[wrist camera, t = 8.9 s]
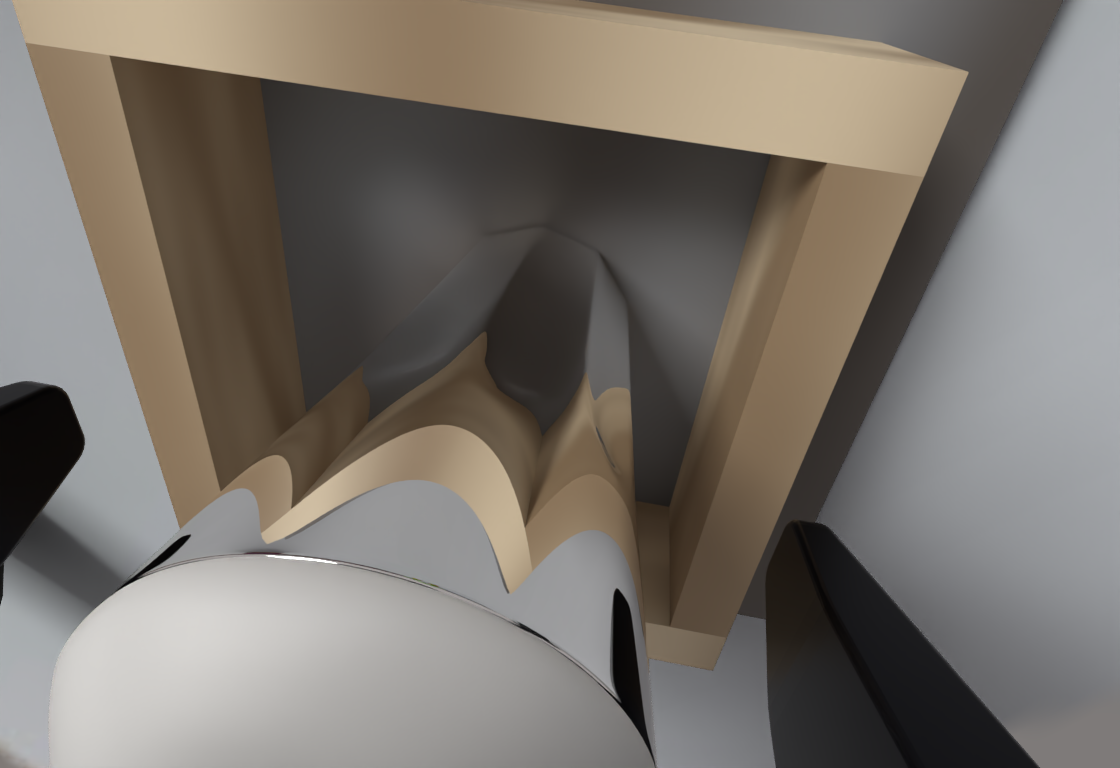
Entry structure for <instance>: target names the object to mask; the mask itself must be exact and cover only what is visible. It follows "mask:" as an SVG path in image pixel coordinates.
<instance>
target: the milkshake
mask: <svg viewBox="0 0 1120 768" xmlns="http://www.w3.org/2000/svg"><path fill="white" fill-rule="evenodd" d="M48 723H49V768H657V754H656V741H655V729H654V717H653V706H652V694H651V682H650V670H649V658H648V646H647V634H646V622H645V610H644V599H643V587H642V575H641V563H640V551H639V539H638V526H637V512H636V496H635V475H634V450H633V427H632V403H631V380H630V357H629V334H628V312H627V302H626V299H625V298H624V296H623V294H622V292H621V291H620V289H619V287H618V285H617V284H616V282H615V280H614V278H613V277H612V275H611V273H610V271H609V270H608V268H607V266H606V264H605V262H604V261H603V259H602V257H601V255H600V254H599V252H598V251H596V250H594V249H592V248H590V247H587V246H585V245H583V244H581V243H579V242H577V241H575V240H572V239H570V238H568V237H566V236H564V235H562V234H560V233H558V232H556V231H553V230H551V229H549V228H547V227H545V226H539V227H533V228H528V229H522V230H516V231H511V232H505V233H499V234H493V235H487V236H485V237H483V238H482V239H481V240H480V241H479V242H478V243H477V244H476V245H475V246H474V247H473V248H472V249H471V251H470V252H469V253H468V254H467V255H466V256H465V257H464V258H463V259H462V260H461V261H460V262H459V263H458V264H457V265H456V266H455V267H454V268H453V269H452V270H451V271H450V272H449V273H448V274H447V275H446V276H445V277H444V278H443V279H442V281H441V282H440V283H439V284H438V285H437V286H436V287H435V288H434V289H433V290H432V291H431V292H430V293H429V294H428V295H427V296H426V297H425V298H424V299H423V300H422V301H421V302H420V303H419V304H418V305H417V306H416V307H415V308H414V309H413V310H412V311H411V312H410V314H409V315H408V316H407V317H406V318H405V319H404V320H403V321H402V322H401V323H400V324H399V325H398V326H397V327H396V328H395V329H394V330H393V331H392V332H391V333H390V334H389V335H388V336H387V337H386V338H385V339H384V340H383V341H382V342H381V343H380V344H379V345H378V346H377V347H376V348H375V349H374V350H373V351H372V352H371V353H370V354H369V355H368V356H367V357H366V358H365V359H364V360H363V361H362V362H361V363H360V364H359V365H358V366H357V367H356V368H355V369H354V370H353V371H352V372H351V373H350V374H349V375H348V376H347V377H345V378H344V379H343V380H342V381H341V382H340V383H339V384H338V385H337V386H336V387H334V388H333V389H332V390H331V391H330V392H329V393H328V394H327V395H326V396H324V397H323V398H322V399H321V400H320V401H319V402H318V403H317V404H315V405H314V406H313V407H312V408H311V409H310V410H309V411H308V412H306V413H305V414H304V415H303V416H302V417H301V418H300V419H299V420H298V421H297V422H295V423H294V424H293V425H292V426H291V427H290V428H289V429H288V430H287V431H286V432H285V433H283V434H282V435H281V436H280V437H279V438H278V439H277V440H276V441H275V442H274V443H273V444H272V445H270V446H269V447H268V448H267V449H266V450H265V451H264V452H263V453H262V454H261V455H260V456H259V457H257V458H256V459H255V460H254V461H253V462H252V463H251V464H250V465H249V466H248V467H247V468H246V469H245V470H244V471H242V472H241V473H240V474H239V475H238V476H237V477H236V478H235V479H234V480H233V481H232V482H231V483H230V484H228V485H227V486H226V487H225V488H224V489H223V490H222V491H221V492H220V493H219V494H218V495H217V496H216V497H214V498H213V499H212V500H211V501H210V502H209V503H208V504H207V505H206V506H205V507H204V508H203V509H202V510H201V511H199V512H198V513H197V514H196V515H195V516H194V517H193V518H192V519H191V520H190V521H189V522H188V523H187V524H186V525H184V526H183V527H182V528H181V529H180V530H179V531H178V532H177V533H176V534H175V535H174V536H173V537H172V538H171V539H169V540H168V541H167V542H166V543H165V544H164V545H163V546H162V547H161V548H160V549H159V550H158V551H157V552H155V553H154V554H153V555H152V556H151V557H150V558H149V559H148V560H147V561H146V562H145V563H144V564H143V565H142V566H141V567H139V568H138V569H137V570H136V571H135V572H134V573H133V574H132V575H131V576H130V577H129V578H128V579H127V580H126V581H125V582H124V583H123V584H122V585H120V586H119V587H118V588H117V589H116V590H115V592H114V593H113V594H112V595H111V596H110V597H109V598H108V599H106V600H105V601H104V602H102V603H101V604H100V605H99V606H98V607H96V608H95V609H94V610H93V611H92V612H91V613H90V614H89V615H88V616H87V617H86V618H85V619H84V620H83V621H82V622H81V623H80V625H79V626H78V627H77V628H76V630H75V631H74V632H73V633H72V635H71V636H70V637H69V639H68V640H67V642H66V643H65V645H64V647H63V649H62V651H61V652H60V654H59V657H58V659H57V663H56V666H55V669H54V673H53V679H52V685H51V693H50V700H49V721H48Z"/></svg>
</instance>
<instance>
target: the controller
mask: <svg viewBox="0 0 1120 768" xmlns="http://www.w3.org/2000/svg"><path fill="white" fill-rule="evenodd" d="M3 573H4V563H3V564H2V565H1V566H0V604H1V600H2V596H3Z"/></svg>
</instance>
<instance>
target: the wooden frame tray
mask: <svg viewBox="0 0 1120 768" xmlns="http://www.w3.org/2000/svg"><path fill="white" fill-rule="evenodd" d="M12 2H13V5H14V8H15V11H16V14H17V17H18V20H19V24H20V27H21V30H22V33H23V36H24V39H25V42H26V46H27V49H28V52H29V55H30V58H31V61H32V64H33V68H34V71H35V74H36V77H37V80H38V83H39V86H40V90H41V93H42V96H43V99H44V102H45V105H46V109H47V112H48V115H49V118H50V121H51V124H52V127H53V131H54V134H55V137H56V140H57V143H58V146H59V149H60V153H61V156H62V159H63V162H64V165H65V168H66V171H67V175H68V178H69V181H70V184H71V187H72V190H73V193H74V197H75V200H76V203H77V206H78V209H79V212H80V216H81V219H82V222H83V225H84V228H85V231H86V234H87V238H88V241H89V244H90V247H91V250H92V253H93V256H94V260H95V263H96V266H97V269H98V272H99V275H100V278H101V282H102V285H103V288H104V291H105V294H106V297H107V300H108V304H109V307H110V310H111V313H112V316H113V319H114V323H115V326H116V329H117V332H118V335H119V338H120V341H121V345H122V348H123V351H124V354H125V357H126V360H127V363H128V367H129V370H130V373H131V376H132V379H133V382H134V385H135V389H136V392H137V395H138V398H139V401H140V404H141V407H142V411H143V414H144V417H145V420H146V423H147V426H148V430H149V433H150V436H151V439H152V442H153V445H154V448H155V452H156V455H157V458H158V461H159V464H160V467H161V470H162V474H163V477H164V480H165V483H166V486H167V489H168V492H169V496H170V499H171V502H172V505H173V508H174V511H175V514H176V518H177V521H178V524H179V527H180V529H181V528H182V527H183V526H184V525H186V524H187V523H188V522H189V521H190V520H191V519H192V518H193V517H194V516H195V515H196V514H197V513H198V512H199V511H201V510H202V509H203V508H204V507H205V506H206V505H207V504H208V503H209V502H210V501H211V500H212V499H213V498H214V497H216V496H217V495H218V494H219V493H220V492H221V491H222V490H223V489H224V488H225V487H226V486H227V485H228V484H230V483H231V482H232V481H233V480H234V479H235V478H236V477H237V476H238V475H239V474H240V473H241V472H242V471H244V470H245V469H246V468H247V467H248V466H249V465H250V464H251V463H252V462H253V461H254V460H255V459H256V458H257V457H259V456H260V455H261V454H262V453H263V452H264V451H265V450H266V449H267V448H268V447H269V446H270V445H272V444H273V443H274V442H275V441H276V440H277V439H278V438H279V437H280V436H281V435H282V434H283V433H285V432H286V431H287V430H288V429H289V428H290V427H291V426H292V425H293V424H294V423H295V422H297V421H298V420H299V419H300V418H301V417H302V416H303V415H304V414H305V413H306V412H308V411H309V410H310V409H311V408H312V407H313V406H314V405H315V404H317V403H318V402H319V401H320V400H321V399H322V398H323V397H324V396H326V395H327V394H328V393H329V392H330V391H331V390H332V389H333V388H334V387H336V386H337V385H338V384H339V383H340V382H341V381H342V380H343V379H344V378H345V377H347V376H348V375H349V374H350V373H351V372H352V371H353V370H354V369H355V368H356V367H357V366H358V365H359V364H360V363H361V362H362V361H363V360H364V359H365V358H366V357H367V356H368V355H369V354H370V353H371V352H372V351H373V350H374V349H375V348H376V347H377V346H378V345H379V344H380V343H381V342H382V341H383V340H384V339H385V338H386V337H387V336H388V335H389V334H390V333H391V332H392V331H393V330H394V329H395V328H396V327H397V326H398V325H399V324H400V323H401V322H402V321H403V320H404V319H405V318H406V317H407V316H408V315H409V314H410V312H411V311H412V310H413V309H414V308H415V307H416V306H417V305H418V304H419V303H420V302H421V301H422V300H423V299H424V298H425V297H426V296H427V295H428V294H429V293H430V292H431V291H432V290H433V289H434V288H435V287H436V286H437V285H438V284H439V283H440V282H441V281H442V279H443V278H444V277H445V276H446V275H447V274H448V273H449V272H450V271H451V270H452V269H453V268H454V267H455V266H456V265H457V264H458V263H459V262H460V261H461V260H462V259H463V258H464V257H465V256H466V255H467V254H468V253H469V252H470V251H471V249H472V248H473V247H474V246H475V245H476V244H477V243H478V242H479V241H480V240H481V239H482V238H483V237H485V236H487V235H493V234H499V233H505V232H511V231H516V230H522V229H528V228H533V227H539V226H545V227H547V228H549V229H551V230H553V231H556V232H558V233H560V234H562V235H564V236H566V237H568V238H570V239H572V240H575V241H577V242H579V243H581V244H583V245H585V246H587V247H590V248H592V249H594V250H596V251H598V252H599V254H600V255H601V257H602V259H603V261H604V262H605V264H606V266H607V268H608V270H609V271H610V273H611V275H612V277H613V278H614V280H615V282H616V284H617V285H618V287H619V289H620V291H621V292H622V294H623V296H624V298H625V299H626V302H627V312H628V334H629V357H630V380H631V403H632V427H633V450H634V475H635V496H636V512H637V526H638V539H639V551H640V563H641V575H642V587H643V599H644V610H645V622H646V634H647V646H648V658H650V659H655V660H660V661H665V662H670V663H676V664H681V665H686V666H691V667H696V668H701V669H706V670H711V671H713V669H714V667H715V664H716V662H717V660H718V657H719V655H720V653H721V650H722V648H723V646H724V643H725V641H726V639H727V636H728V634H729V632H730V629H731V627H732V625H733V622H734V620H735V618H736V615H737V614H740V615H745V616H751V617H756V618H761V619H766V601H765V579H766V571H767V567H768V564H769V562H770V559H771V557H772V555H773V553H774V550H775V548H776V546H777V544H778V541H779V539H780V537H781V534H782V532H783V530H784V528H785V526H786V525H787V523H788V522H789V521H791V520H795V519H797V520H803V521H808V522H814V523H815V521H816V519H817V517H818V514H819V512H820V510H821V508H822V506H823V504H824V502H825V500H826V498H827V496H828V493H829V491H830V489H831V487H832V485H833V483H834V481H835V479H836V477H837V475H838V472H839V470H840V468H841V466H842V464H843V462H844V460H845V458H846V456H847V454H848V451H849V449H850V447H851V445H852V443H853V441H854V439H855V437H856V435H857V432H858V430H859V428H860V426H861V424H862V422H863V420H864V418H865V416H866V414H867V411H868V409H869V407H870V405H871V403H872V401H873V399H874V397H875V395H876V393H877V390H878V388H879V386H880V384H881V382H882V380H883V378H884V376H885V374H886V372H887V369H888V367H889V365H890V363H891V361H892V359H893V357H894V355H895V353H896V350H897V348H898V346H899V344H900V342H901V340H902V338H903V336H904V334H905V332H906V329H907V327H908V325H909V323H910V321H911V319H912V317H913V315H914V313H915V311H916V308H917V306H918V304H919V302H920V300H921V298H922V296H923V294H924V292H925V290H926V287H927V285H928V283H929V281H930V279H931V277H932V275H933V273H934V271H935V269H936V266H937V264H938V262H939V260H940V258H941V256H942V254H943V252H944V250H945V247H946V245H947V243H948V241H949V239H950V237H951V235H952V233H953V231H954V229H955V226H956V224H957V222H958V220H959V218H960V216H961V214H962V212H963V210H964V208H965V205H966V203H967V201H968V199H969V197H970V195H971V193H972V191H973V189H974V187H975V184H976V182H977V180H978V178H979V176H980V174H981V172H982V170H983V168H984V165H985V163H986V161H987V159H988V157H989V155H990V153H991V151H992V149H993V147H994V144H995V142H996V140H997V138H998V136H999V134H1000V132H1001V130H1002V128H1003V126H1004V123H1005V121H1006V119H1007V117H1008V115H1009V113H1010V111H1011V109H1012V107H1013V105H1014V102H1015V100H1016V98H1017V96H1018V94H1019V92H1020V90H1021V88H1022V86H1023V83H1024V81H1025V79H1026V77H1027V75H1028V73H1029V71H1030V69H1031V67H1032V65H1033V62H1034V60H1035V58H1036V56H1037V54H1038V52H1039V50H1040V48H1041V46H1042V44H1043V41H1044V39H1045V37H1046V35H1047V33H1048V31H1049V29H1050V27H1051V25H1052V23H1053V20H1054V18H1055V16H1056V14H1057V12H1058V10H1059V8H1060V6H1061V4H1062V2H1063V0H12Z"/></svg>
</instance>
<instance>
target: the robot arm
mask: <svg viewBox="0 0 1120 768" xmlns="http://www.w3.org/2000/svg"><path fill="white" fill-rule="evenodd" d="M84 445H85V438H84V434H83V432H82V429H81V427H80V424H79V422H78V419H77V416H76V414H75V411H74V409H73V406H72V404H71V401H70V399H69V397H68V395H67V393H66V392H65V391H64V390H63V389H62V388H60V387H58V386H54V385H49V384H44V383H38V382H32V381H23V382H18V383H14V384H10V385H7V386H3V387H0V566H1V565H2V564H3V563H4V562H5V560H6V559H7V558H8V557H9V555H10V554H11V553H12V551H13V550H14V549H15V547H16V546H17V545H18V543H19V542H20V541H21V539H22V538H23V536H24V535H25V534H26V532H27V531H28V529H29V528H30V527H31V525H32V524H33V522H34V521H35V520H36V518H37V517H38V515H39V514H40V513H41V511H42V510H43V509H44V507H45V506H46V504H47V503H48V502H49V500H50V499H51V497H52V496H53V495H54V493H55V492H56V490H57V489H58V488H59V486H60V485H61V483H62V482H63V481H64V479H65V478H66V476H67V475H68V474H69V472H70V471H71V469H72V468H73V467H74V465H75V464H76V462H77V461H78V460H79V458H80V457H81V455H82V452H83V450H84ZM765 601H766V645H767V688H768V710H769V719H770V728H771V736H772V743H773V751H774V758H775V765H776V768H1040V767H1039V766H1038V765H1037V764H1036V763H1035V762H1034V760H1033V759H1032V758H1031V757H1030V756H1029V755H1028V753H1027V752H1026V751H1025V750H1024V749H1023V748H1022V747H1021V746H1020V744H1019V743H1018V742H1017V741H1016V740H1015V739H1014V738H1013V736H1012V735H1011V734H1010V733H1009V732H1008V731H1007V730H1006V728H1005V727H1004V726H1003V725H1002V724H1001V723H1000V722H999V720H998V719H997V718H996V717H995V716H994V715H993V714H992V712H991V711H990V710H989V709H988V708H987V707H986V706H985V704H984V703H983V702H982V701H981V700H980V699H979V698H978V697H977V695H976V694H975V693H974V692H973V691H972V690H971V689H970V687H969V686H968V685H967V684H966V683H965V682H964V681H963V679H962V678H961V677H960V676H959V675H958V674H957V673H956V671H955V670H954V669H953V668H952V667H951V666H950V665H949V663H948V662H947V661H946V660H945V659H944V658H943V657H942V656H941V654H940V653H939V652H938V651H937V650H936V649H935V648H934V646H933V645H932V644H931V643H930V642H929V641H928V640H927V638H926V637H925V636H924V635H923V634H922V633H921V632H920V630H919V629H918V628H917V627H916V626H915V625H914V624H913V622H912V621H911V620H910V619H909V618H908V617H907V616H906V615H905V613H904V612H903V611H902V610H901V609H900V608H899V607H898V605H897V604H896V603H895V602H894V601H893V600H892V599H891V597H890V596H889V595H888V594H887V593H886V592H885V591H884V589H883V588H882V587H881V586H880V585H879V584H878V583H877V581H876V580H875V579H874V578H873V577H872V576H871V575H870V574H869V572H868V571H867V570H866V569H865V568H864V567H863V566H862V564H861V563H860V562H859V561H858V560H857V559H856V558H855V556H854V555H853V554H852V553H851V552H850V551H849V550H848V548H847V547H846V546H845V545H844V544H843V543H842V542H841V540H840V539H839V538H838V537H837V536H836V535H835V534H834V533H833V531H832V530H831V529H830V528H828V527H827V526H826V525H823V524H819V523H814V522H808V521H803V520H797V519H795V520H791V521H789V522H788V523H787V525H786V526H785V528H784V530H783V532H782V534H781V537H780V539H779V541H778V544H777V546H776V548H775V550H774V553H773V555H772V557H771V559H770V562H769V564H768V567H767V571H766V579H765Z"/></svg>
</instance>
